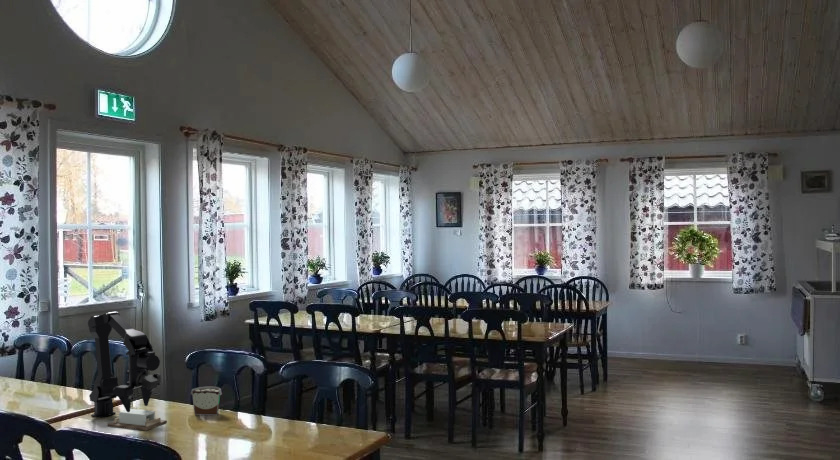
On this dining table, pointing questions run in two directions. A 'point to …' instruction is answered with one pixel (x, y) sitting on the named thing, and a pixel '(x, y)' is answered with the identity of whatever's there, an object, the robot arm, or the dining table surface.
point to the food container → (206, 400)
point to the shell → (136, 416)
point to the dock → (147, 426)
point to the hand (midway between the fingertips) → (137, 408)
